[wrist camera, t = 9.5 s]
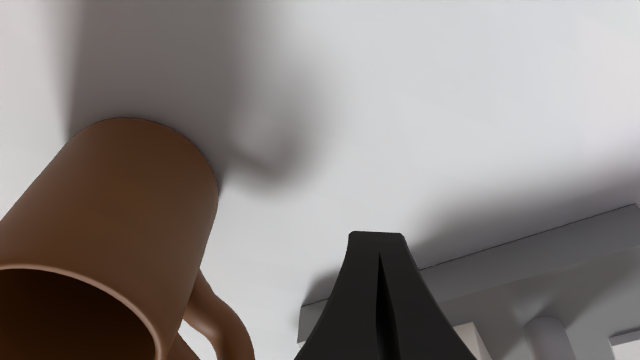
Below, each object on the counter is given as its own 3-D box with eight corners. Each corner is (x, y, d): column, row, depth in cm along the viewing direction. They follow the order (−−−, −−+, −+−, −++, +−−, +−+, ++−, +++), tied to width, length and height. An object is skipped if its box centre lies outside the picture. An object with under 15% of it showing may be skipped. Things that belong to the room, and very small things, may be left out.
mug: (319, 234, 27) (306, 402, 20) (225, 301, 31) (183, 468, 23) (121, 77, 23) (4, 217, 15) (36, 176, 26) (-94, 332, 19)
